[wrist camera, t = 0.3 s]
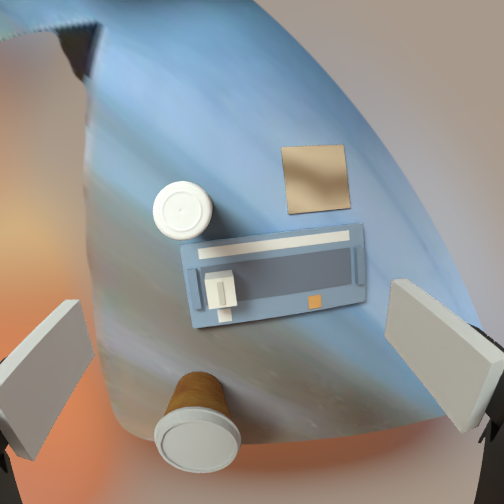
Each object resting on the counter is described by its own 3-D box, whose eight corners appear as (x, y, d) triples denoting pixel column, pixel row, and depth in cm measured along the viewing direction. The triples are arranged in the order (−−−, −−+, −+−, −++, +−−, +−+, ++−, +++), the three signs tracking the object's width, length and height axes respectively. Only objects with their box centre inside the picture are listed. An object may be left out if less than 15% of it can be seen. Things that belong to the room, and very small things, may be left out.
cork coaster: (280, 147, 37) (281, 147, 36) (342, 145, 37) (343, 144, 37) (288, 214, 38) (288, 214, 38) (349, 207, 39) (350, 207, 38)
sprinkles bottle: (201, 181, 36) (193, 169, 23) (220, 215, 37) (222, 222, 24) (167, 201, 36) (141, 200, 23) (186, 234, 37) (170, 252, 24)
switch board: (180, 244, 37) (178, 247, 35) (357, 222, 39) (366, 224, 37) (193, 323, 39) (192, 331, 36) (360, 297, 41) (369, 303, 38)
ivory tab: (205, 273, 36) (204, 280, 32) (231, 269, 36) (233, 276, 33) (209, 299, 37) (208, 310, 33) (235, 296, 37) (237, 306, 33)
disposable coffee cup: (169, 416, 40) (160, 474, 29) (161, 360, 39) (145, 414, 27) (235, 415, 41) (243, 474, 30) (233, 359, 40) (241, 414, 28)
